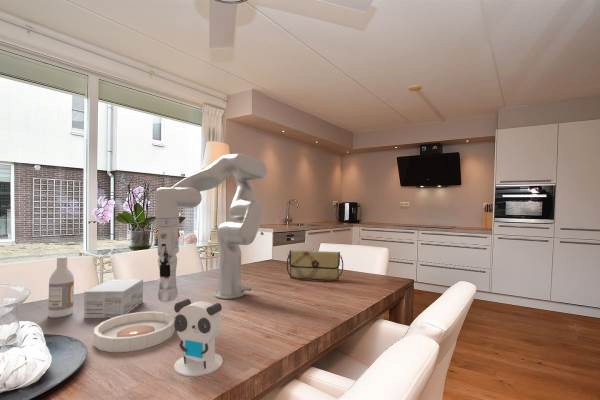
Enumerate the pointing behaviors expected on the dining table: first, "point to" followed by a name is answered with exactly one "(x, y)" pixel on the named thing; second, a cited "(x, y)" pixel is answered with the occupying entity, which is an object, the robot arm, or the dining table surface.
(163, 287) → the plastic bottle
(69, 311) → the bath foam
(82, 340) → the dining table surface
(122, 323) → the round tray
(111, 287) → the supplement box
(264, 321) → the dining table surface
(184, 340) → the panda figurine
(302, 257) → the clutch purse
